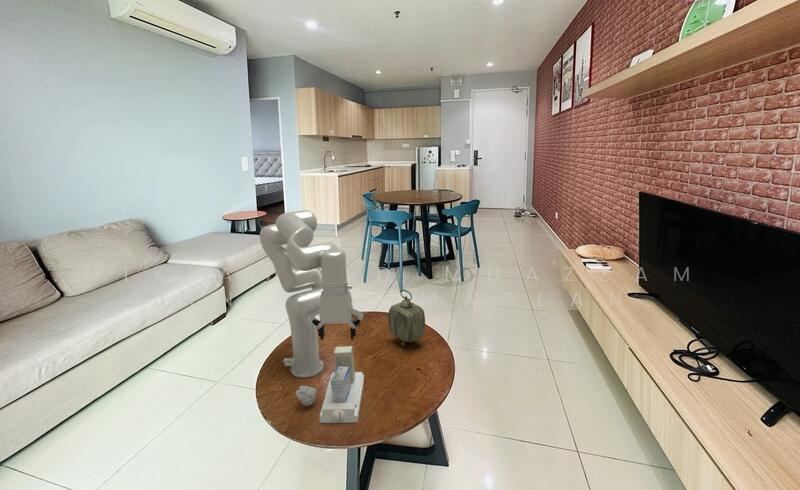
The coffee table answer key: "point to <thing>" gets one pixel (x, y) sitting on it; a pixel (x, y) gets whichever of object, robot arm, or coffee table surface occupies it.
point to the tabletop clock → (407, 320)
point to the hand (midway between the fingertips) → (337, 337)
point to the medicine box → (340, 384)
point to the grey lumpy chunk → (306, 395)
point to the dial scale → (343, 411)
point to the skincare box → (345, 359)
